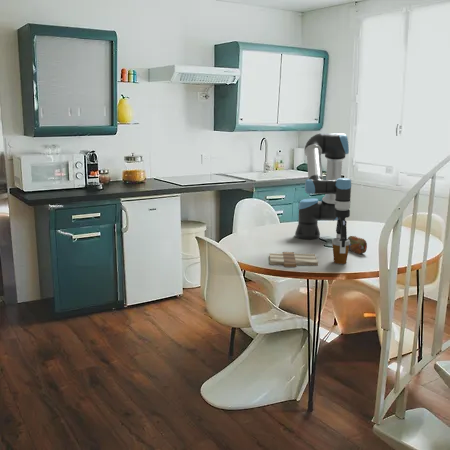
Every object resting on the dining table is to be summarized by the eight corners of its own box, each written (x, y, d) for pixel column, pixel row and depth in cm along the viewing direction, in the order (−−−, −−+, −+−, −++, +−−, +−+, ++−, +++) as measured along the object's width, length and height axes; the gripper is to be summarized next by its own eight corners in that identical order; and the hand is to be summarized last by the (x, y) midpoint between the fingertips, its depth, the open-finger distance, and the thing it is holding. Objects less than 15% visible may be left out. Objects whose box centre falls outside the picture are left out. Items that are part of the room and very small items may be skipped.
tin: (345, 249, 306) (346, 234, 304) (350, 248, 307) (351, 233, 305) (362, 255, 292) (363, 240, 290) (367, 255, 293) (368, 239, 291)
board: (269, 254, 295) (269, 251, 294) (314, 255, 293) (314, 252, 293) (270, 266, 273) (270, 263, 273) (318, 267, 272) (318, 264, 271)
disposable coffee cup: (346, 259, 284) (347, 237, 282) (351, 264, 275) (352, 242, 273) (328, 259, 284) (329, 237, 282) (332, 265, 275) (333, 242, 272)
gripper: (331, 204, 286) (330, 243, 291) (338, 213, 262) (336, 256, 266) (346, 204, 286) (344, 243, 290) (354, 213, 261) (352, 256, 266)
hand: (340, 249), depth 278 cm, fingers open, 13 cm apart
